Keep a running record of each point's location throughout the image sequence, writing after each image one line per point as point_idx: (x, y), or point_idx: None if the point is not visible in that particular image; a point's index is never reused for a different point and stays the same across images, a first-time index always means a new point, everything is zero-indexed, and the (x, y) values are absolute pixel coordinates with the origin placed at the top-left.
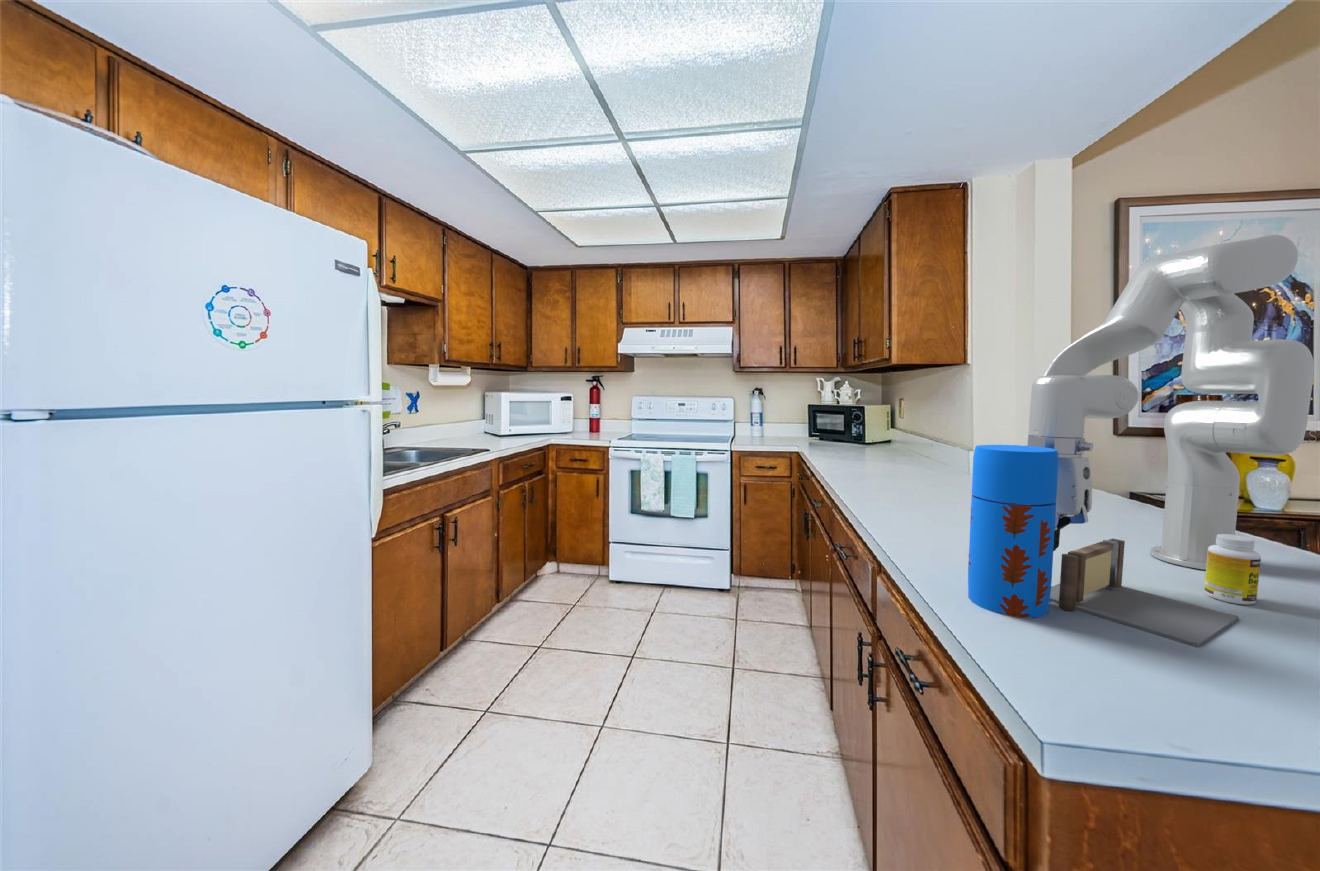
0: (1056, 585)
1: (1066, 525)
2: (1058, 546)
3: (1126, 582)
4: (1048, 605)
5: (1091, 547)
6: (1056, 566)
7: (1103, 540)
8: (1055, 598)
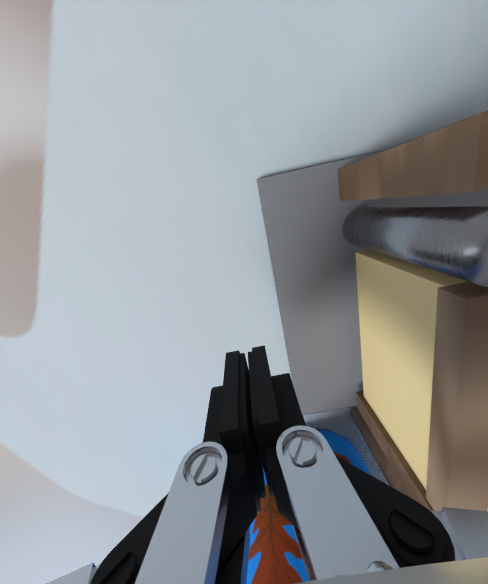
0: (286, 330)
1: (364, 477)
2: (289, 374)
3: (342, 62)
4: (367, 468)
5: (470, 437)
6: (150, 138)
7: (466, 261)
8: (334, 402)
